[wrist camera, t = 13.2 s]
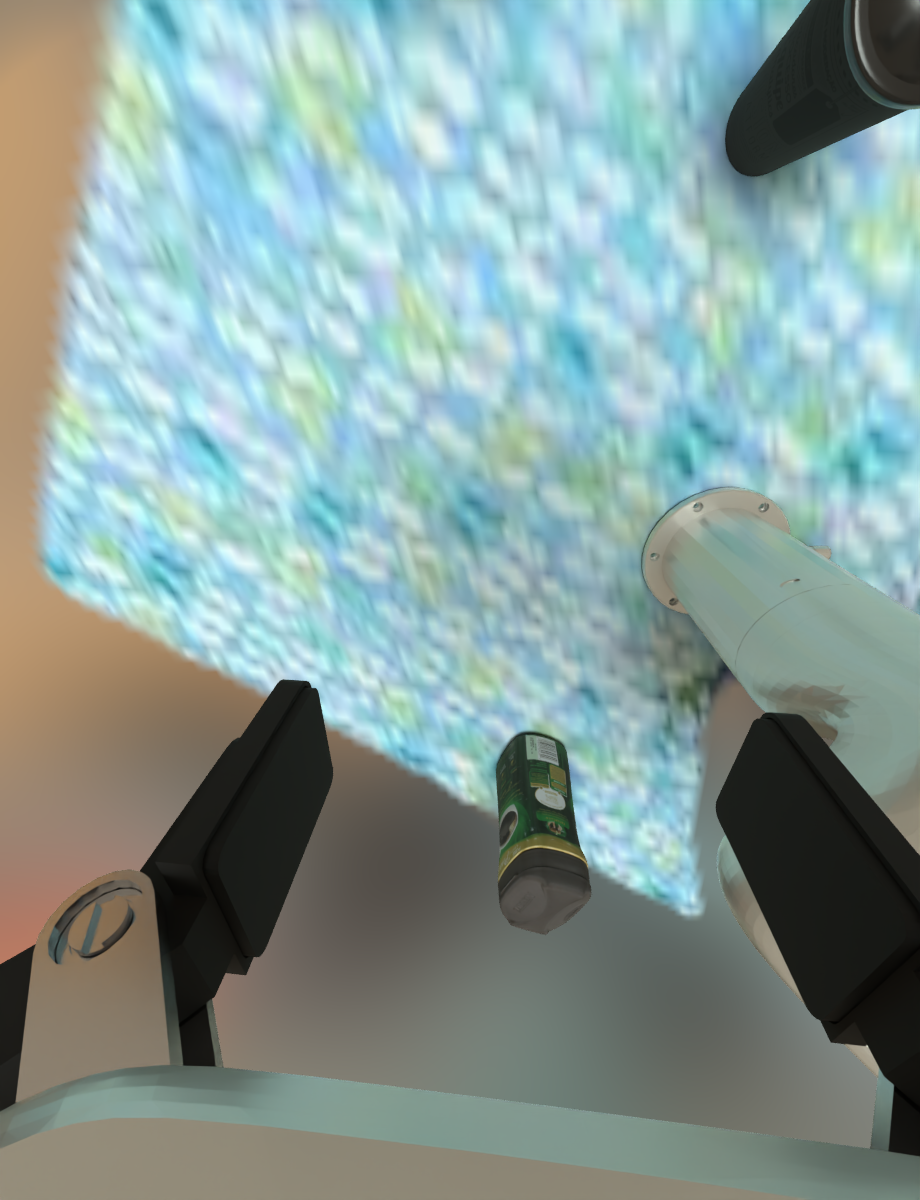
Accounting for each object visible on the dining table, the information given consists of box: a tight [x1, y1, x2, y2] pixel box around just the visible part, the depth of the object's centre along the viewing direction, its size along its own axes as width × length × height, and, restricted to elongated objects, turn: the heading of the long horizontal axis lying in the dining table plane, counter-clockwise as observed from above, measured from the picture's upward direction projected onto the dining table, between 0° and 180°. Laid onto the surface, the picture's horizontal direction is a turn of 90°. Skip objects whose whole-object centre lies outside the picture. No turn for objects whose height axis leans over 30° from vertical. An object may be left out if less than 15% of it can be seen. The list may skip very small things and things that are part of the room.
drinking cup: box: [726, 0, 920, 176], centre depth 19 cm, size 8×8×20 cm
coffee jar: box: [496, 734, 591, 934], centre depth 49 cm, size 10×8×19 cm
